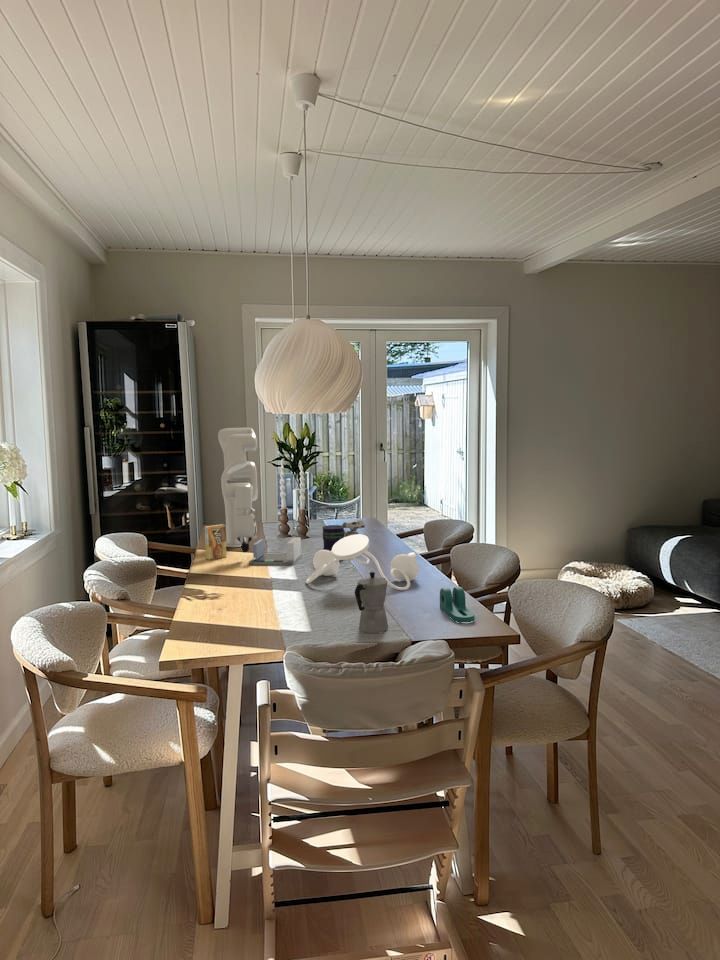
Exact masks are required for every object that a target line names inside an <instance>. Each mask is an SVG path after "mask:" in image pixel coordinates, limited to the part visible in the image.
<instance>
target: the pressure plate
mask: <svg viewBox="0 0 720 960" xmlns="http://www.w3.org/2000/svg"><path fill="white" fill-rule="evenodd" d="M252 552H253V556H252V557H253V558H252V559H253V560H255V559H258V558H260V557H261V556H262V555H263V554H264V553H265V539H263V538H262V539H259V540H257V541H256V542H254V543H253V544H252Z"/></svg>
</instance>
